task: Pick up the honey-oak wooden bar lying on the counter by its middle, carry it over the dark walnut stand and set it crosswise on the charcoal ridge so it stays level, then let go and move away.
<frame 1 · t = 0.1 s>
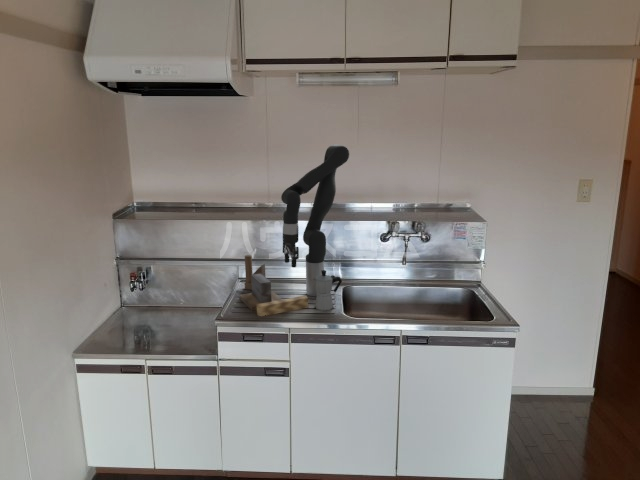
hand: (290, 264, 236), 17 cm above the table, tool pointing down, fingers open, 8 cm apart
ridge stand: (261, 301, 236), on the table
wooden block: (255, 289, 253), on the table
coffee maker: (326, 307, 228), on the table
oak bar: (282, 311, 225), on the table
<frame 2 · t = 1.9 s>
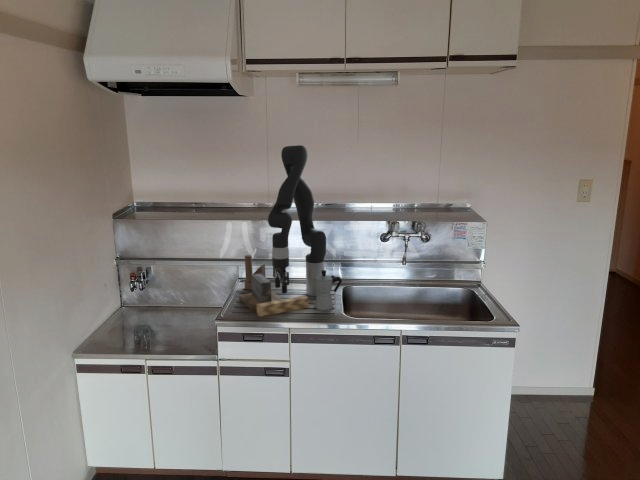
hand: (281, 290, 222), 10 cm above the table, tool pointing down, fingers open, 8 cm apart
nothing on the table moved.
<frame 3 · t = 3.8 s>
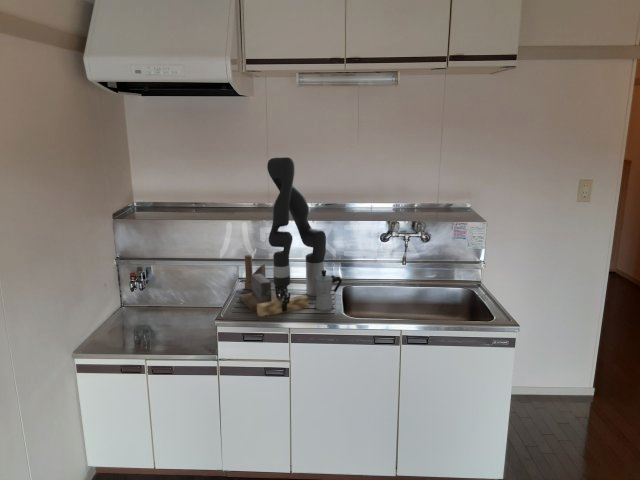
hand: (282, 309, 225), 0 cm above the table, tool pointing down, fingers closed on oak bar, 3 cm apart
oak bar: (283, 310, 225), on the table, touching gripper
everything else where it was.
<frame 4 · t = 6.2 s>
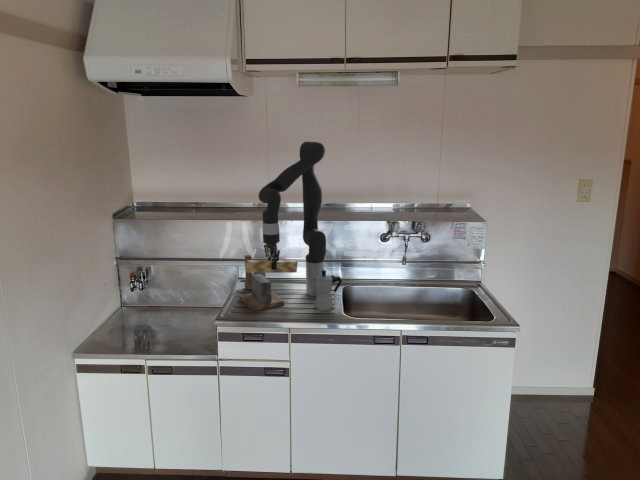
hand: (272, 268, 224), 19 cm above the table, tool pointing down, fingers closed on oak bar, 3 cm apart
oak bar: (271, 271, 225), point 18 cm above the table, tilted 9°, touching gripper
everything else where it was.
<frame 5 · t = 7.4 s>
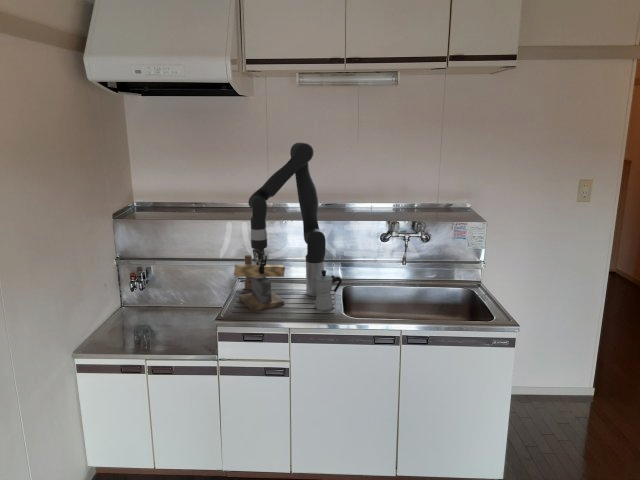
hand: (260, 272, 232), 15 cm above the table, tool pointing down, fingers closed on oak bar, 3 cm apart
oak bar: (259, 275, 232), point 13 cm above the table, tilted 9°, touching gripper
everything else where it was.
when the fingers open (13 cm above the table, at t = 8.4 s): oak bar stays where it is, resting on ridge stand.
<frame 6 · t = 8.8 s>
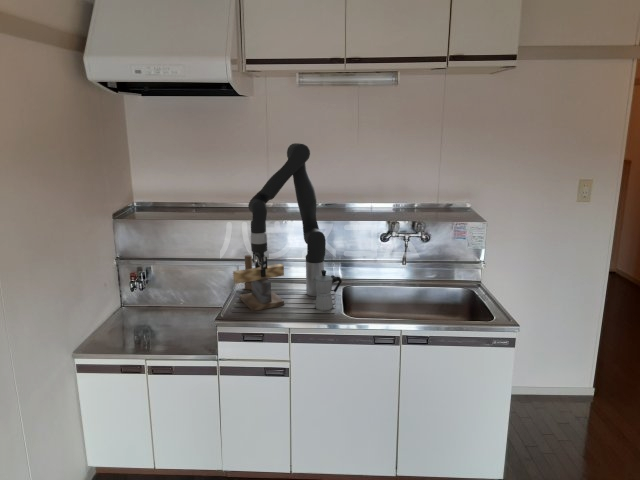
hand: (260, 274, 232), 14 cm above the table, tool pointing down, fingers open, 7 cm apart
oak bar: (259, 278, 232), point 12 cm above the table, touching ridge stand
everything else where it was.
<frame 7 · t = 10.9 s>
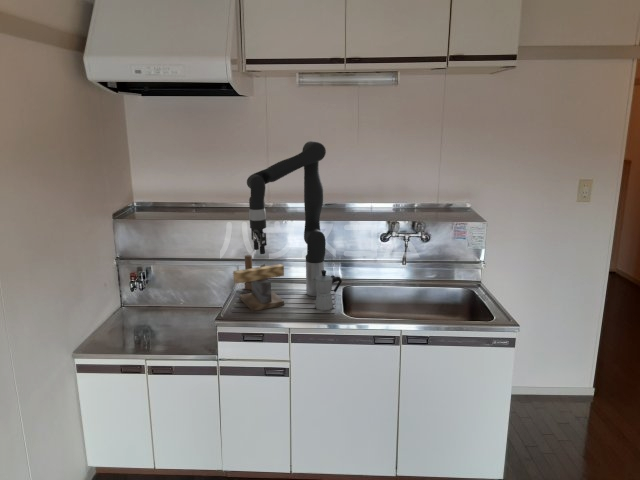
hand: (259, 251, 229), 25 cm above the table, tool pointing down, fingers open, 8 cm apart
nothing on the table moved.
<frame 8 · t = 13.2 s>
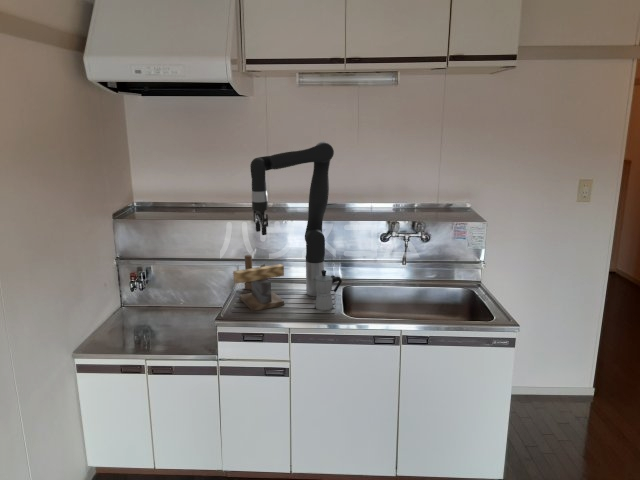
hand: (261, 233, 236), 32 cm above the table, tool pointing down, fingers open, 8 cm apart
nothing on the table moved.
at the end: oak bar 0.7 cm off-centre on the ridge stand, point 12.0 cm above the ridge stand's base; oak bar tilted 0°; oak bar touching ridge stand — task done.
